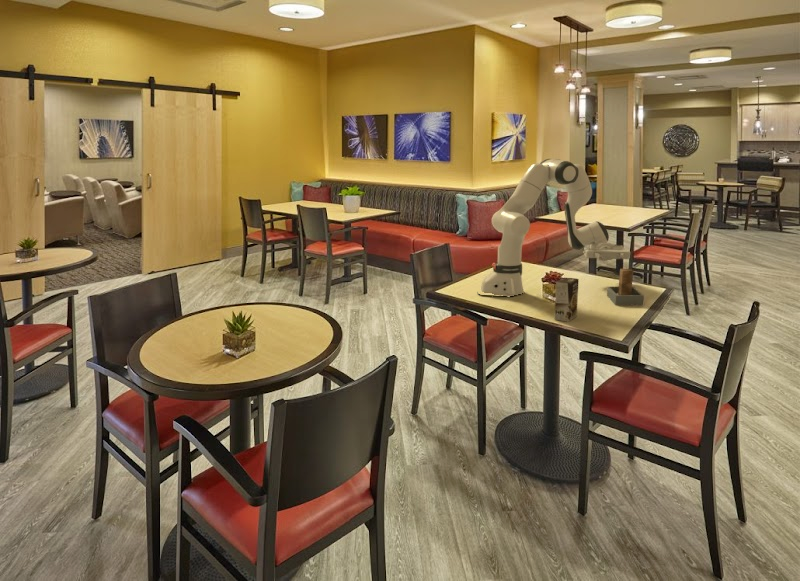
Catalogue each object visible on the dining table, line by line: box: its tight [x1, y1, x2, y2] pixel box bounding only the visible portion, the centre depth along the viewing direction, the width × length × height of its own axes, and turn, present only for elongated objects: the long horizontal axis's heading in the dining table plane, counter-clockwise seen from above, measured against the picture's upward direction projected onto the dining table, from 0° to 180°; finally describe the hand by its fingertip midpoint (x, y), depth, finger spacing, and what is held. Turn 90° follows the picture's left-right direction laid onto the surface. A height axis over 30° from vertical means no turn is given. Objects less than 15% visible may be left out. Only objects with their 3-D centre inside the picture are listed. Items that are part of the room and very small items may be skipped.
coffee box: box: [553, 277, 579, 323], centre depth 228 cm, size 9×6×16 cm
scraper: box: [616, 268, 634, 295], centre depth 250 cm, size 5×9×13 cm, turn 173°
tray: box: [606, 285, 645, 306], centre depth 251 cm, size 12×16×4 cm
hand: (610, 256), depth 260 cm, fingers open, 8 cm apart
